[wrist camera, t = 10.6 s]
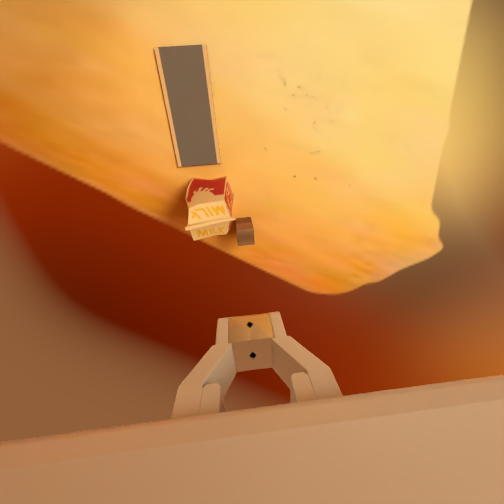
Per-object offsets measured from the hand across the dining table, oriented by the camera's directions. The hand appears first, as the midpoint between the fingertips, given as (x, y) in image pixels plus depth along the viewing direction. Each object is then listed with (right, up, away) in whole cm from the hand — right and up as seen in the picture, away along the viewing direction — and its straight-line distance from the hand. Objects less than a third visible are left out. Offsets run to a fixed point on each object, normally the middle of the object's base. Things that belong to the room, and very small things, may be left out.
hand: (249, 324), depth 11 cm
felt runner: (-12, +30, +31) cm, 45 cm away
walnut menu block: (-2, +10, +42) cm, 43 cm away
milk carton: (-8, +16, +39) cm, 43 cm away
